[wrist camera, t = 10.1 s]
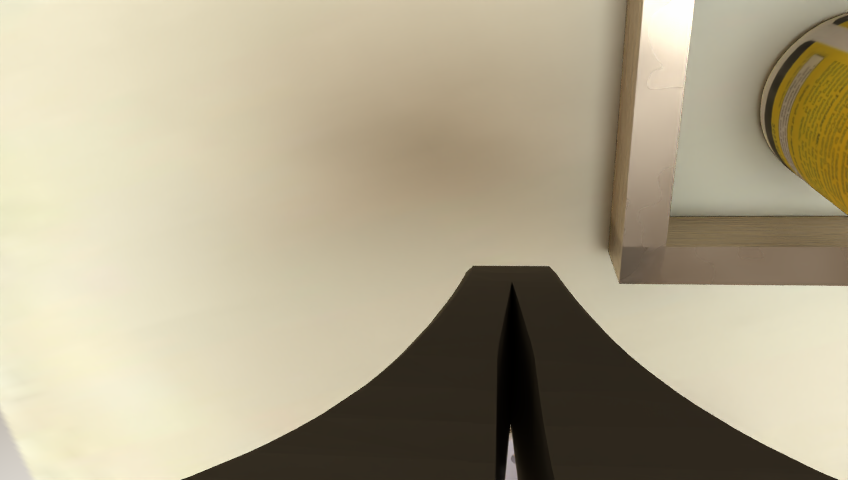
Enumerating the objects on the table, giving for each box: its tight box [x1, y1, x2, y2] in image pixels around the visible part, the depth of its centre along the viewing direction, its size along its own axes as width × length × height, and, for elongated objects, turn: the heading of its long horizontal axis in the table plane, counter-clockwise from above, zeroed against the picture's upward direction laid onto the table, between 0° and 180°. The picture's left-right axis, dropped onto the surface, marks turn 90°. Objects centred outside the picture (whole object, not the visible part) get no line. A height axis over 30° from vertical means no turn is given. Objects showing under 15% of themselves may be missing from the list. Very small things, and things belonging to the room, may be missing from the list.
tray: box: [608, 0, 848, 286], centre depth 18 cm, size 9×9×2 cm
